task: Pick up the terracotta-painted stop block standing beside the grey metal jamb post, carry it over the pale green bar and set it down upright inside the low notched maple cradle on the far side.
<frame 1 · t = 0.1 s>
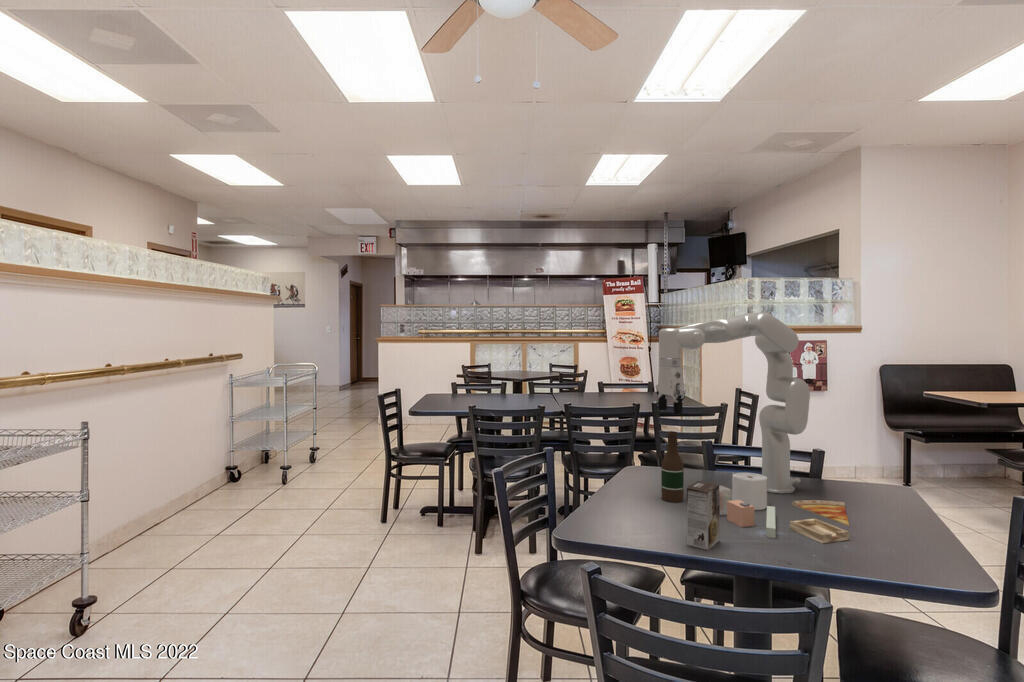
hand: (670, 411, 195), 31 cm above the table, fingers open, 9 cm apart
pizza slice: (818, 514, 181), on the table
toilet tissue: (747, 505, 189), on the table
coffee box: (703, 543, 156), on the table
pale green bar: (770, 525, 169), on the table
stop block: (740, 522, 172), on the table
jamb post: (720, 512, 181), on the table
keyed cradle: (818, 534, 161), on the table
beer bottle: (672, 500, 196), on the table
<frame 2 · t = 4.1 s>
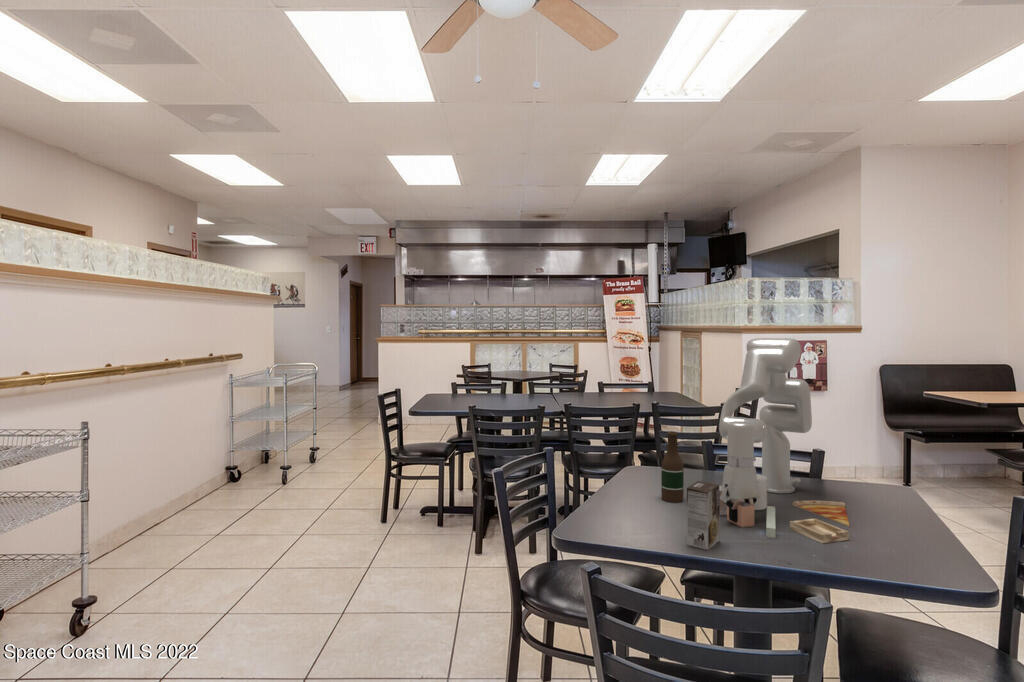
hand: (740, 519, 172), 1 cm above the table, fingers closed on stop block, 4 cm apart
stop block: (740, 522, 172), on the table, touching gripper
everything else where it was.
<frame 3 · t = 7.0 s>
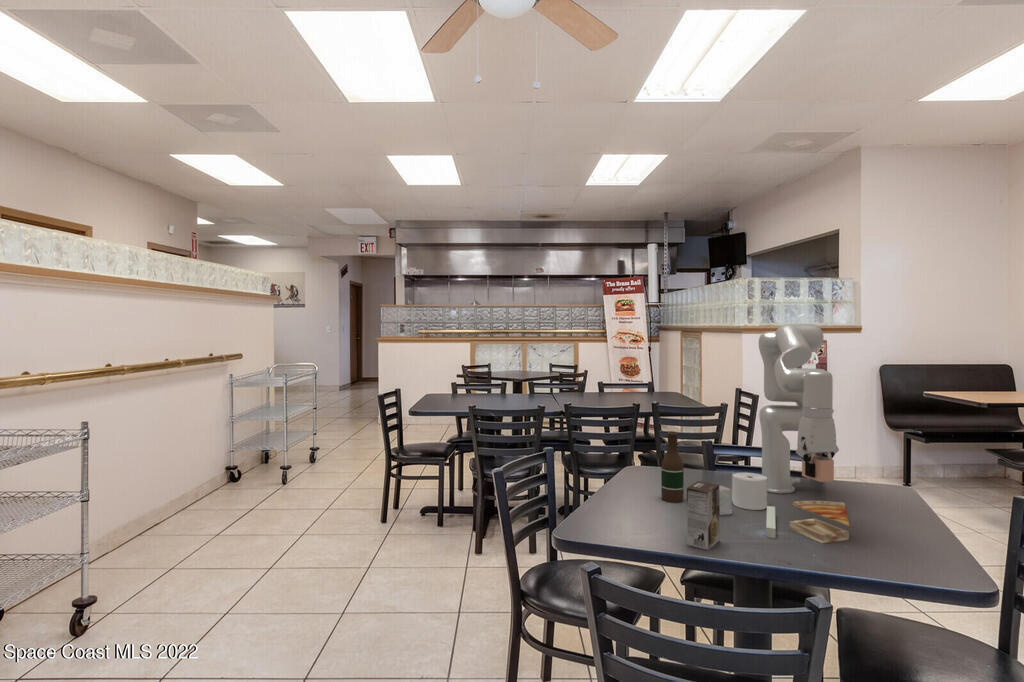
hand: (817, 475, 161), 17 cm above the table, fingers closed on stop block, 4 cm apart
stop block: (817, 478, 161), point 16 cm above the table, touching gripper
everything else where it was.
when the fingers open (4 cm above the table, at t = 10.0 s): stop block drops 2 cm, resting on keyed cradle.
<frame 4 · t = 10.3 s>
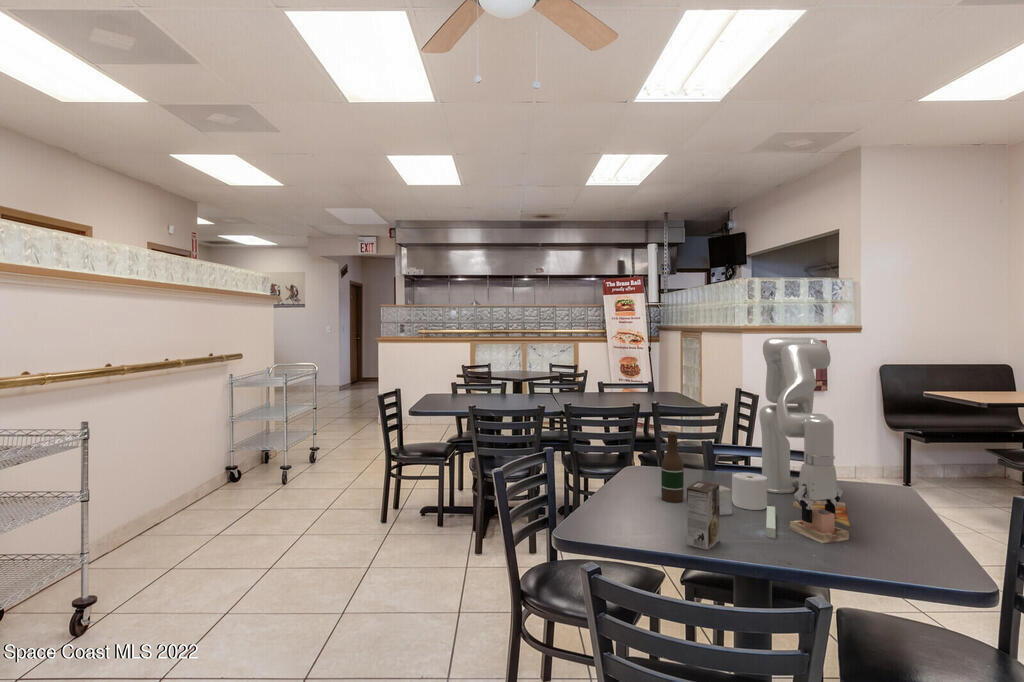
hand: (818, 519, 161), 4 cm above the table, fingers open, 7 cm apart
stop block: (818, 531, 162), point 1 cm above the table, touching keyed cradle
everything else where it was.
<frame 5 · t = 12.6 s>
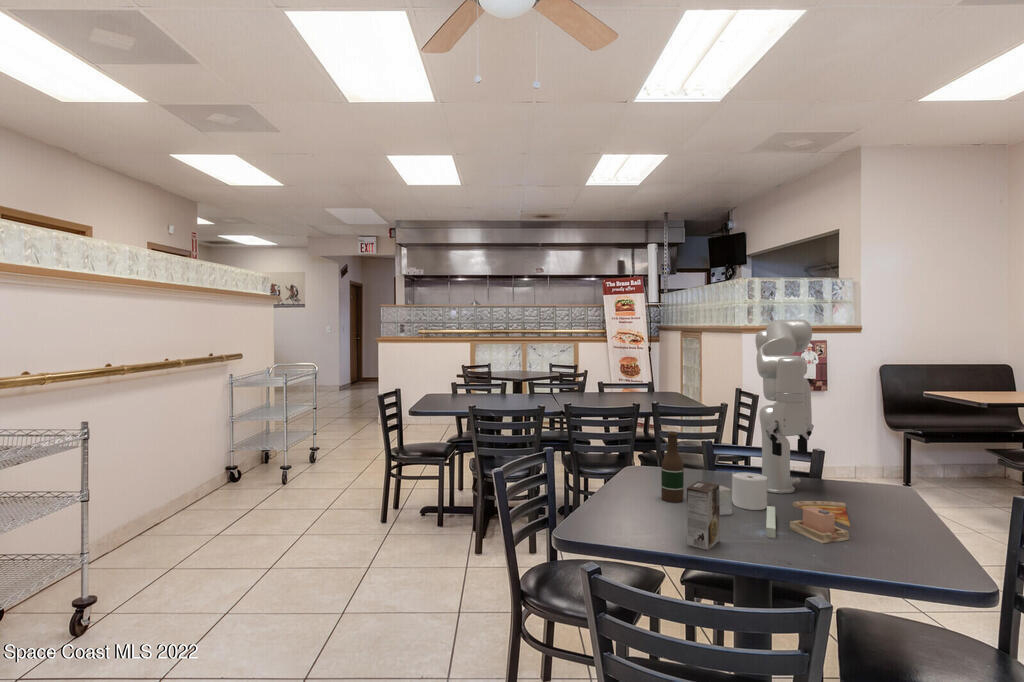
hand: (789, 453, 169), 22 cm above the table, fingers open, 9 cm apart
nothing on the table moved.
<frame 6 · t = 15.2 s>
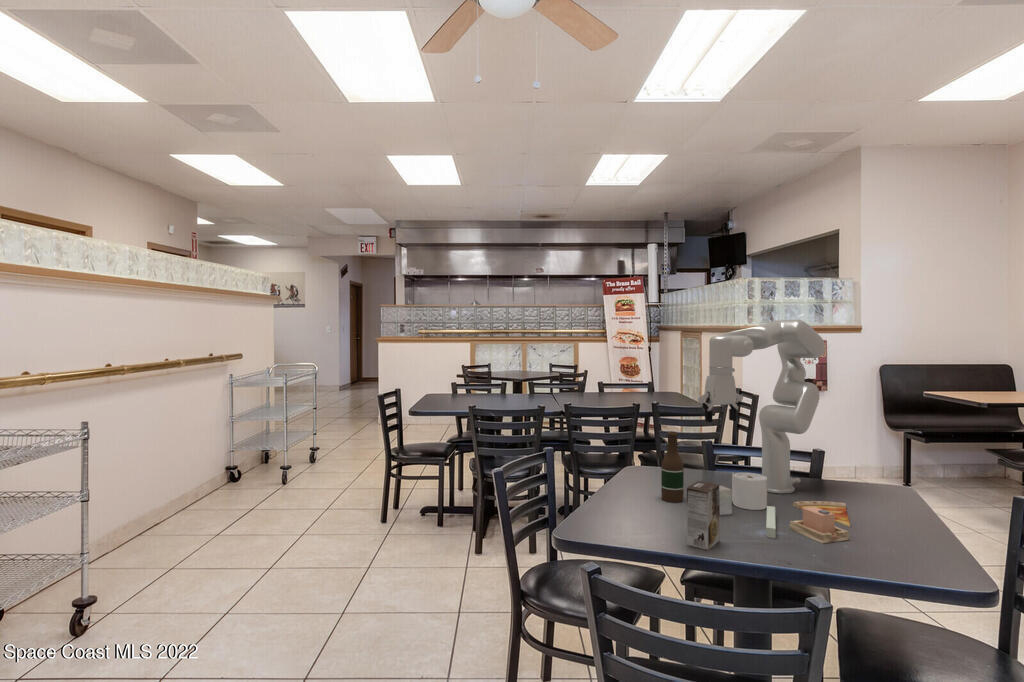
hand: (720, 421, 192), 28 cm above the table, fingers open, 9 cm apart
nothing on the table moved.
at the end: stop block 0.1 cm off-centre on the keyed cradle, point 0.8 cm above the keyed cradle's base; stop block tilted 0°; the gripper is holding nothing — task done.
